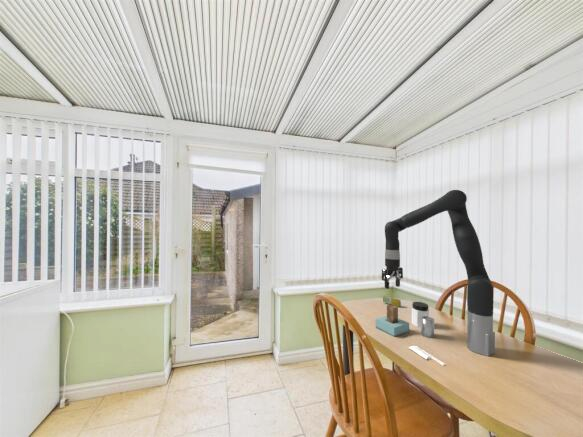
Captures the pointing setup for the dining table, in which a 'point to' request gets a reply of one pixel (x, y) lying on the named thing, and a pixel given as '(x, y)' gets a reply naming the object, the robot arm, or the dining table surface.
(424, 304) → the jar
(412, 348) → the white long flat piece
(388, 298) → the medication box
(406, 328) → the socket block
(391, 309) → the square peg
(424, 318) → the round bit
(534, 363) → the dining table surface
